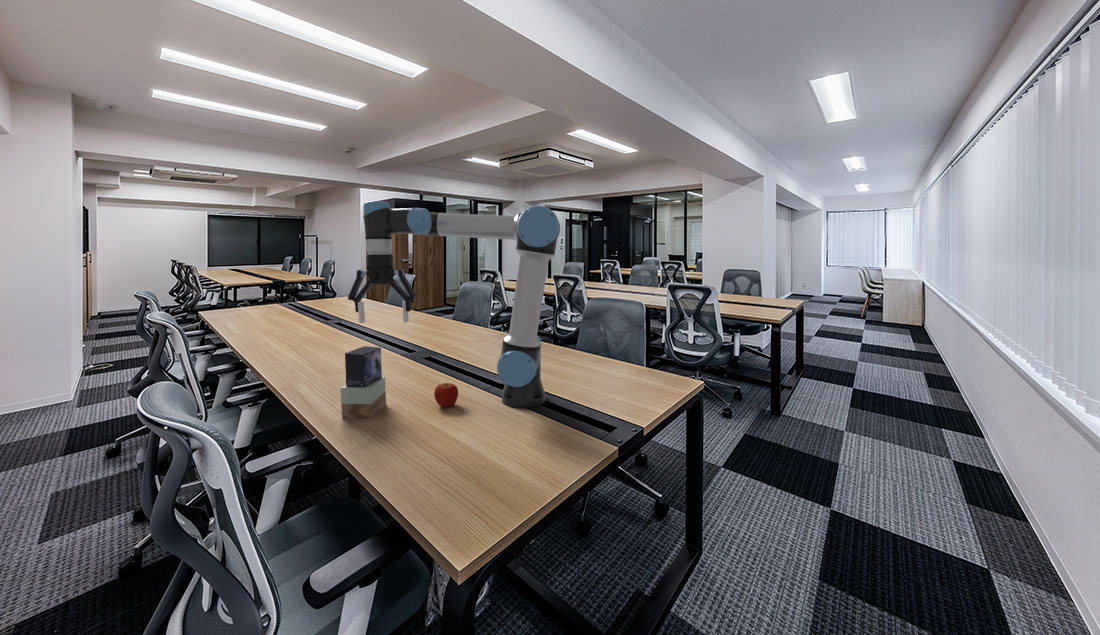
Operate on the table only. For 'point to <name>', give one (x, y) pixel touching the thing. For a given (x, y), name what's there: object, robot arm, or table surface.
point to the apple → (446, 394)
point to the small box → (363, 366)
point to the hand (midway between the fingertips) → (384, 322)
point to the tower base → (363, 409)
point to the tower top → (363, 393)
